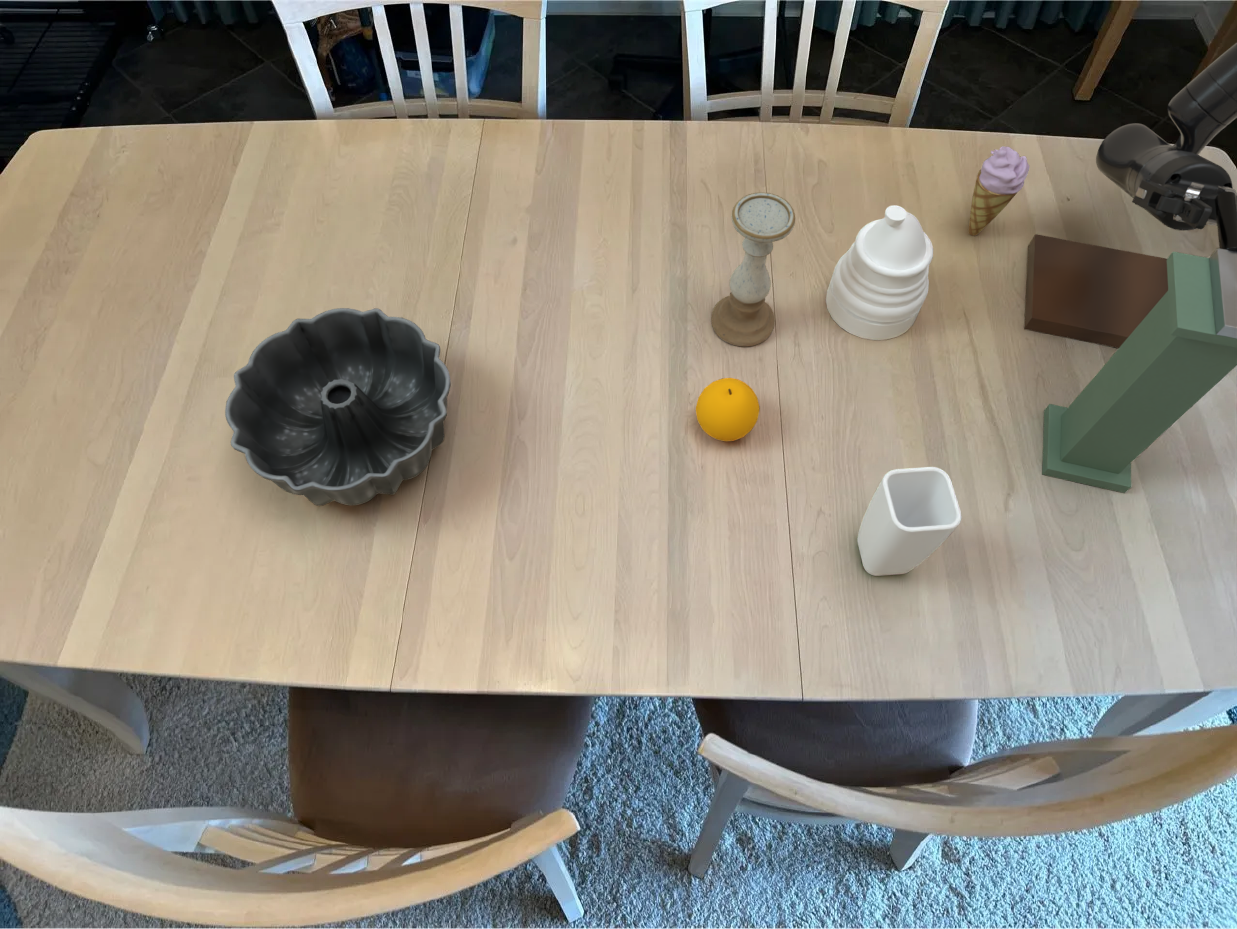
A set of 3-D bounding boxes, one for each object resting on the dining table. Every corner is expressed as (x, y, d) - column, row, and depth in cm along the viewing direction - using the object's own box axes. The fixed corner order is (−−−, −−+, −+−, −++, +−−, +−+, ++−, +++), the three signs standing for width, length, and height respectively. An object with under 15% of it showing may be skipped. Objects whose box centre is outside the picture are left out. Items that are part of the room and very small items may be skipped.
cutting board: (1170, 272, 122) (1180, 260, 119) (1175, 359, 114) (1186, 348, 112) (1028, 245, 124) (1035, 233, 122) (1024, 329, 117) (1031, 317, 114)
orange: (717, 460, 107) (723, 429, 100) (682, 415, 110) (686, 383, 103) (767, 431, 109) (776, 399, 102) (731, 388, 112) (738, 355, 105)
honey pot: (856, 352, 115) (894, 260, 99) (808, 286, 120) (837, 189, 105) (935, 321, 117) (984, 227, 102) (885, 258, 123) (923, 159, 107)
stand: (1123, 427, 109) (1279, 270, 83) (1124, 493, 104) (1290, 349, 78) (1043, 410, 110) (1172, 250, 84) (1041, 474, 105) (1177, 327, 80)
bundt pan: (455, 340, 116) (441, 292, 107) (472, 509, 103) (458, 470, 95) (260, 367, 114) (230, 321, 105) (253, 544, 101) (218, 507, 93)
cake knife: (1236, 207, 87) (1247, 194, 86) (1251, 341, 79) (1264, 329, 77) (1203, 201, 88) (1214, 188, 86) (1215, 334, 79) (1227, 322, 78)
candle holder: (720, 352, 115) (738, 246, 97) (704, 303, 119) (718, 193, 101) (781, 341, 116) (811, 234, 98) (763, 293, 120) (788, 182, 102)
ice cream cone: (948, 214, 127) (986, 131, 114) (990, 214, 127) (1032, 132, 114) (956, 247, 124) (995, 166, 111) (998, 247, 124) (1043, 167, 111)
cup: (920, 580, 99) (966, 527, 86) (859, 584, 98) (896, 532, 85) (905, 524, 102) (947, 464, 89) (846, 528, 102) (879, 469, 89)
